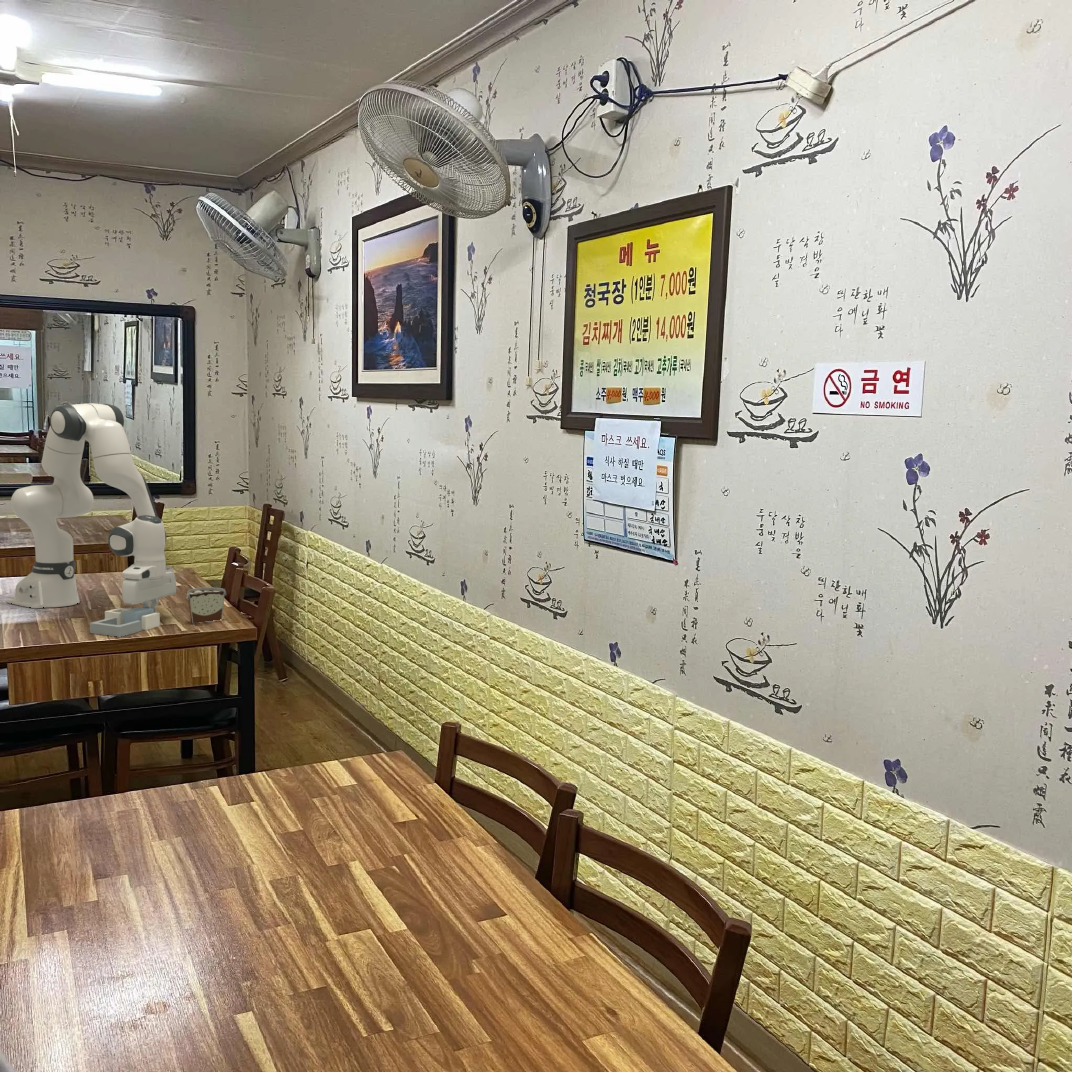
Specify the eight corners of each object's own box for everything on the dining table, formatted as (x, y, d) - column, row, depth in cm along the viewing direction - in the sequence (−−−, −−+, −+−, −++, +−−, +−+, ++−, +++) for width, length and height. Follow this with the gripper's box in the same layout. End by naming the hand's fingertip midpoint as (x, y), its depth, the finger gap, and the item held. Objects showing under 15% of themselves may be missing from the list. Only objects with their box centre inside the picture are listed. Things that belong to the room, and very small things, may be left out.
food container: (218, 616, 309) (218, 585, 308) (226, 620, 304) (226, 588, 303) (179, 621, 301) (179, 589, 299) (187, 624, 296) (187, 592, 295)
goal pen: (90, 633, 281) (89, 623, 281) (112, 627, 290) (112, 617, 289) (119, 637, 278) (119, 627, 277) (141, 630, 286) (141, 620, 286)
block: (123, 627, 290) (123, 610, 289) (140, 622, 296) (140, 606, 296) (137, 629, 288) (136, 612, 288) (153, 624, 295) (153, 608, 294)
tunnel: (105, 624, 292) (104, 611, 292) (119, 620, 298) (119, 607, 297) (145, 629, 288) (145, 616, 287) (159, 625, 293) (159, 612, 293)
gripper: (164, 563, 306) (165, 606, 308) (118, 573, 287) (118, 619, 288) (181, 565, 304) (181, 608, 306) (135, 575, 285) (136, 621, 286)
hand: (150, 613), depth 297 cm, fingers closed
